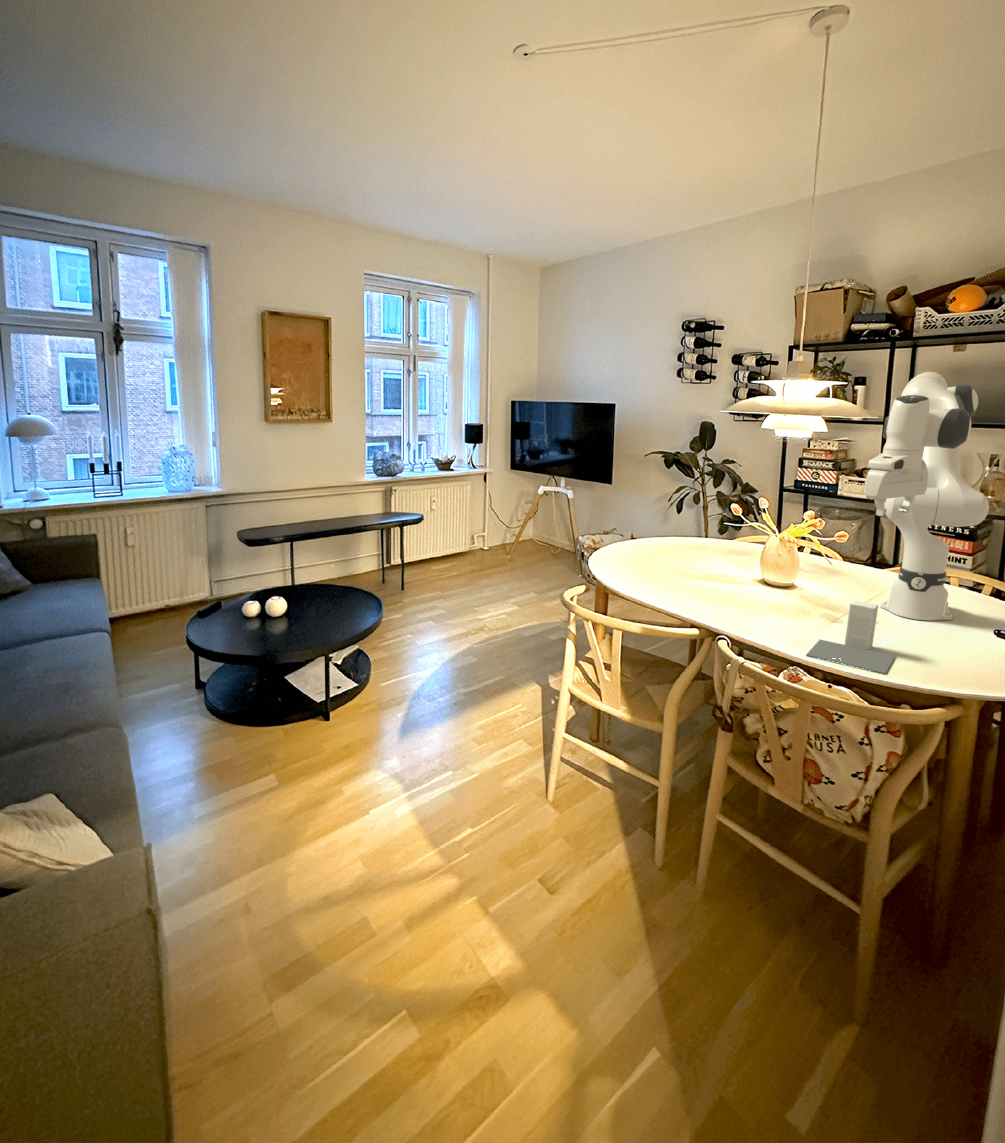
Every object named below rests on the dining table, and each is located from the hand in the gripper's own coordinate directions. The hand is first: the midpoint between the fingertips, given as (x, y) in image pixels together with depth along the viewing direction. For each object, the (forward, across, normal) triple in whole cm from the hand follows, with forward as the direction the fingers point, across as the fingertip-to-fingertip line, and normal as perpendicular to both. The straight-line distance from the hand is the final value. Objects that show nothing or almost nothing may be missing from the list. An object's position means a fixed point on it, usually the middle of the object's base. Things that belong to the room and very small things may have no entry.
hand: (892, 513), depth 163 cm
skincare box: (+36, +8, +2) cm, 36 cm away
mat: (+36, +16, +6) cm, 39 cm away
